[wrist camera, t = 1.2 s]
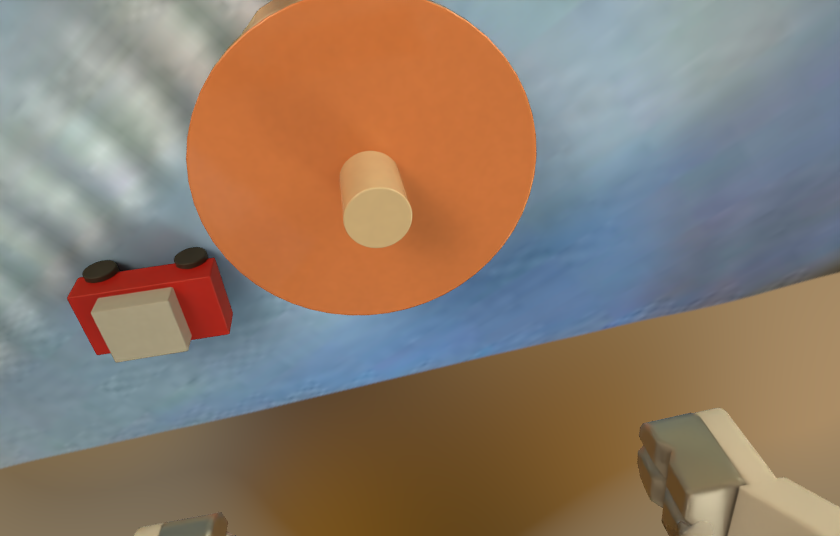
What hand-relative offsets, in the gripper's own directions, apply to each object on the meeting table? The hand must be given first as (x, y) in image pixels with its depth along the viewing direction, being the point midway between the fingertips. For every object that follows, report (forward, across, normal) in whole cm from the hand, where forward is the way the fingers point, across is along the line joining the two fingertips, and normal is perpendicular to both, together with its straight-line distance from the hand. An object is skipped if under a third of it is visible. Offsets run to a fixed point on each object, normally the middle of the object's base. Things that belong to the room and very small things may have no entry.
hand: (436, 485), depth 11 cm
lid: (+16, +1, +1) cm, 16 cm away
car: (+24, +15, +8) cm, 29 cm away
